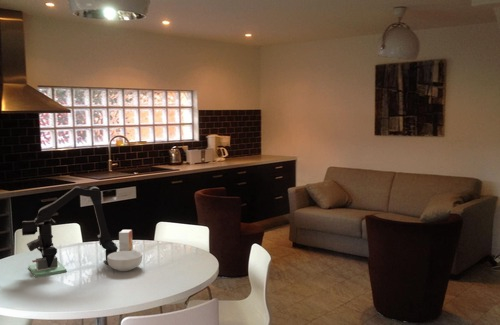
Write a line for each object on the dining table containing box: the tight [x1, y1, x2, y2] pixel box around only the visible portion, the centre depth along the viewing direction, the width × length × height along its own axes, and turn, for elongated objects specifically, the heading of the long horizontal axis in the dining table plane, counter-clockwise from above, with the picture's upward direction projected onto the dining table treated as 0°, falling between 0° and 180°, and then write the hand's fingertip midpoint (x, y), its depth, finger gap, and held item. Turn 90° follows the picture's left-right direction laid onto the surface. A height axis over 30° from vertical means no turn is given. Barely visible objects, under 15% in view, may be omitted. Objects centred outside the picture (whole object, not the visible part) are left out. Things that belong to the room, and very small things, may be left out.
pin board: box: [28, 260, 68, 278], centre depth 243 cm, size 18×14×4 cm
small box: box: [118, 229, 134, 251], centre depth 279 cm, size 8×6×10 cm
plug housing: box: [31, 255, 59, 270], centre depth 242 cm, size 4×11×4 cm, turn 124°
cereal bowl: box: [107, 250, 143, 272], centre depth 243 cm, size 17×17×7 cm
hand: (47, 264), depth 242 cm, fingers open, 9 cm apart
